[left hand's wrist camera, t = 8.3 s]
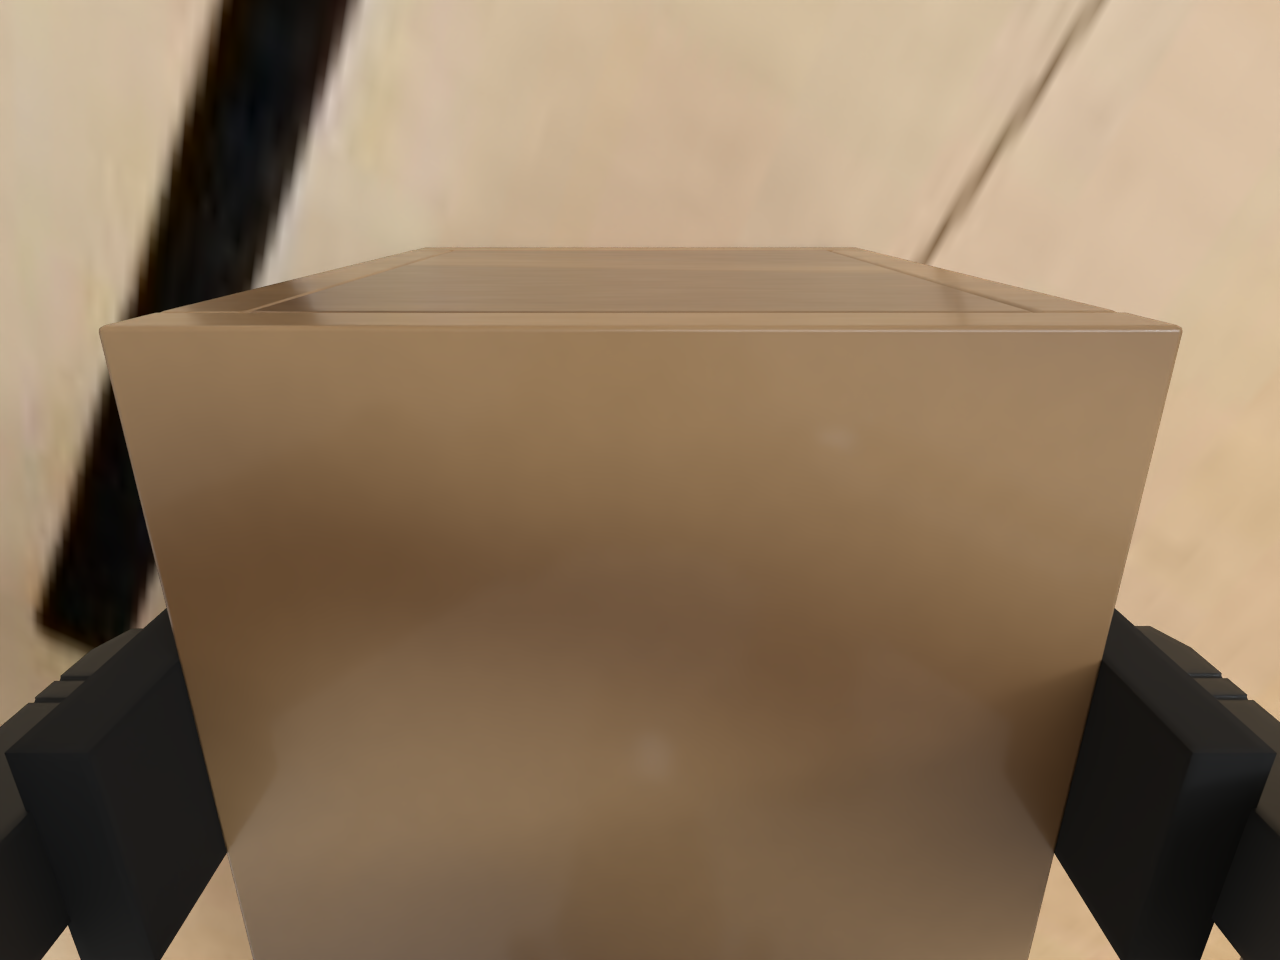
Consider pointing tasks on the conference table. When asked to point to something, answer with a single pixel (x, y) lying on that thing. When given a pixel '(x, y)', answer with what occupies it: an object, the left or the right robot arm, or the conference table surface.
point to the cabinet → (640, 595)
